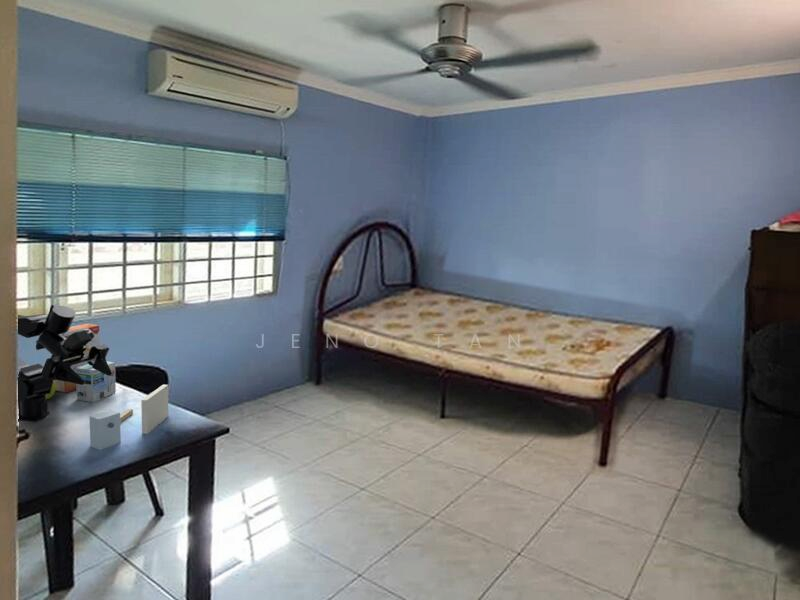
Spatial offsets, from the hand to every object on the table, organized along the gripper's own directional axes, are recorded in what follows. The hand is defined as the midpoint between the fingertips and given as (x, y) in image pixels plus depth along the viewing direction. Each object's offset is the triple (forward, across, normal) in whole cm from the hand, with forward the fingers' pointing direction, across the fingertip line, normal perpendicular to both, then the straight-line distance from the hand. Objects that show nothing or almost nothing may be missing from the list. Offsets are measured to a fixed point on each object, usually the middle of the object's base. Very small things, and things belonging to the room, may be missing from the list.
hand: (97, 378), depth 157 cm
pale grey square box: (+14, -5, +10) cm, 18 cm away
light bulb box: (-13, +21, +25) cm, 36 cm away
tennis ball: (-23, +11, +31) cm, 40 cm away
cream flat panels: (+11, +9, +12) cm, 19 cm away
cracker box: (-24, +26, +32) cm, 47 cm away
